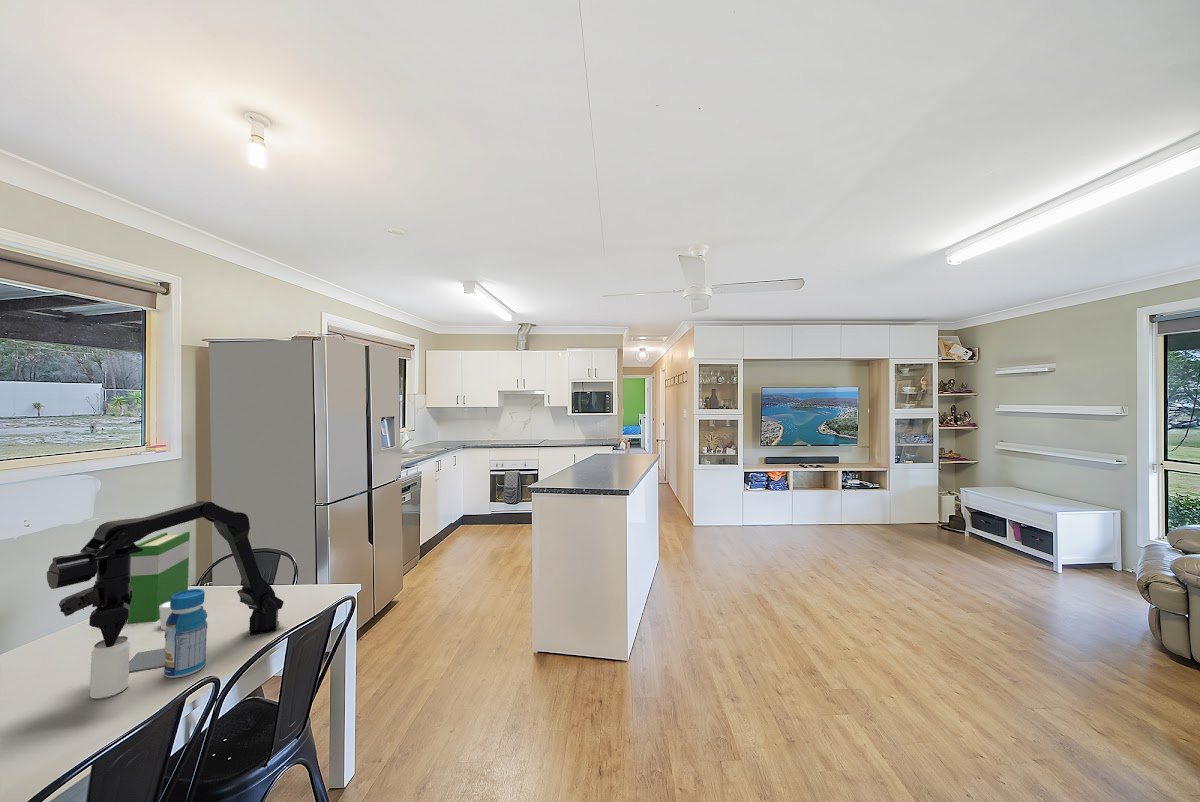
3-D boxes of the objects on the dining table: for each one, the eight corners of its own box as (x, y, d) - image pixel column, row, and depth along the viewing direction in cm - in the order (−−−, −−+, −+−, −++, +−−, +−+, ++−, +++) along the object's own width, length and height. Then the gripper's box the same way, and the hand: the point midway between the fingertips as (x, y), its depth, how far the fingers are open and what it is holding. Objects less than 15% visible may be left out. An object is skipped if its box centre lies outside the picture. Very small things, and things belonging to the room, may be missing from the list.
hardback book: (161, 601, 163) (164, 532, 164) (187, 599, 165) (189, 531, 166) (127, 624, 146) (130, 547, 147) (156, 621, 149) (159, 545, 149)
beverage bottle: (191, 678, 118) (194, 599, 119) (154, 680, 117) (157, 600, 117) (213, 660, 127) (216, 586, 127) (178, 662, 125) (181, 587, 126)
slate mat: (188, 645, 134) (188, 644, 134) (174, 665, 124) (174, 663, 124) (137, 654, 129) (137, 652, 129) (118, 674, 119) (118, 673, 119)
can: (102, 701, 108) (104, 650, 109) (81, 697, 110) (83, 646, 110) (135, 685, 115) (137, 636, 115) (115, 682, 116) (117, 633, 116)
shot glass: (170, 620, 149) (171, 598, 149) (193, 620, 150) (194, 598, 150) (151, 631, 142) (152, 608, 142) (176, 630, 143) (176, 607, 143)
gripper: (69, 571, 114) (67, 635, 114) (56, 595, 101) (53, 667, 100) (133, 562, 122) (131, 622, 122) (129, 582, 108) (127, 650, 108)
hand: (111, 639), depth 113 cm, fingers open, 9 cm apart
